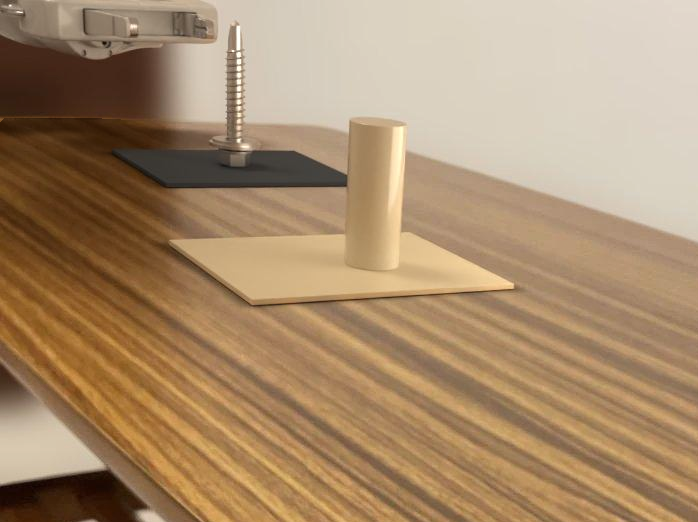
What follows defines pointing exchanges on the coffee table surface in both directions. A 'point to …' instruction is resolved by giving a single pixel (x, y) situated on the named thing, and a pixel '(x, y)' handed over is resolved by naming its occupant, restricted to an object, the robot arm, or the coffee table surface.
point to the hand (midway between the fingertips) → (173, 29)
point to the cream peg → (374, 193)
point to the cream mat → (330, 269)
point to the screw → (235, 107)
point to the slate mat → (230, 169)
